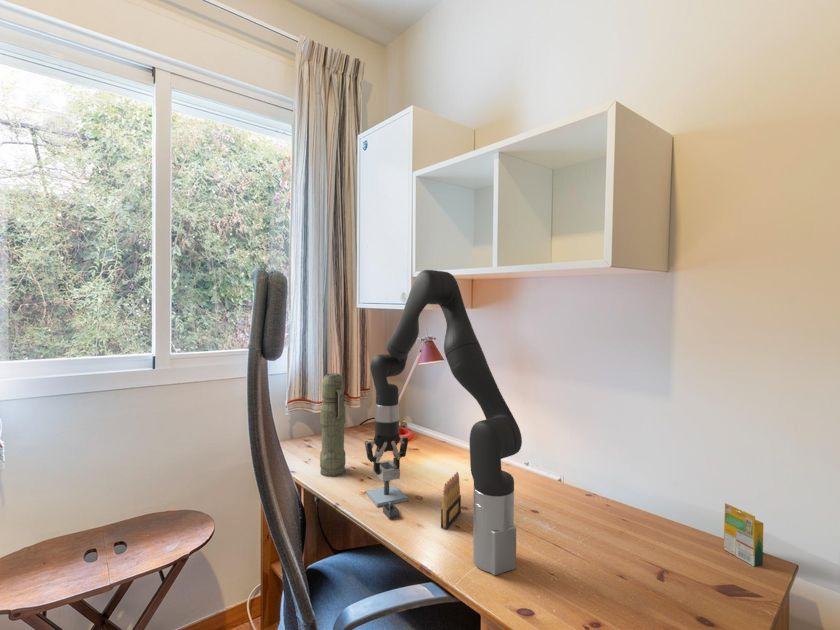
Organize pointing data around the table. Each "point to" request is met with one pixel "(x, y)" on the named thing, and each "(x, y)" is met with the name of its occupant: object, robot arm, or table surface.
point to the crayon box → (743, 535)
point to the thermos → (332, 426)
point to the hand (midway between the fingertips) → (386, 472)
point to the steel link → (388, 471)
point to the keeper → (386, 495)
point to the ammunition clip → (451, 502)
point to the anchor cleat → (391, 510)
